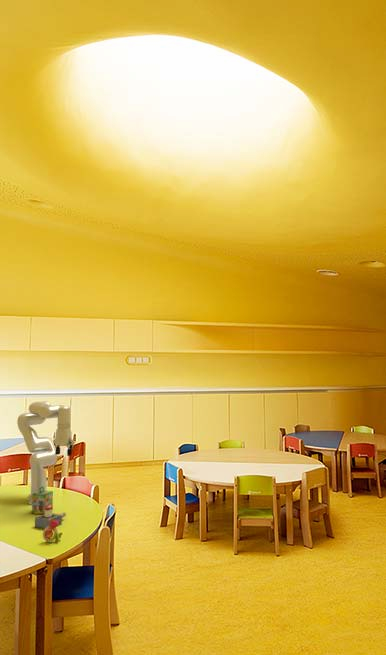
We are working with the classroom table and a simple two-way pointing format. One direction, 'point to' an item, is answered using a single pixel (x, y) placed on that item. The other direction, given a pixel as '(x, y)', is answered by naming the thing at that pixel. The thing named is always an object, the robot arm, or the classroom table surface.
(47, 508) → the key peg
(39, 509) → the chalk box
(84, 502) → the classroom table surface
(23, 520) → the classroom table surface
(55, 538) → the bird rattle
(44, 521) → the chuck block
